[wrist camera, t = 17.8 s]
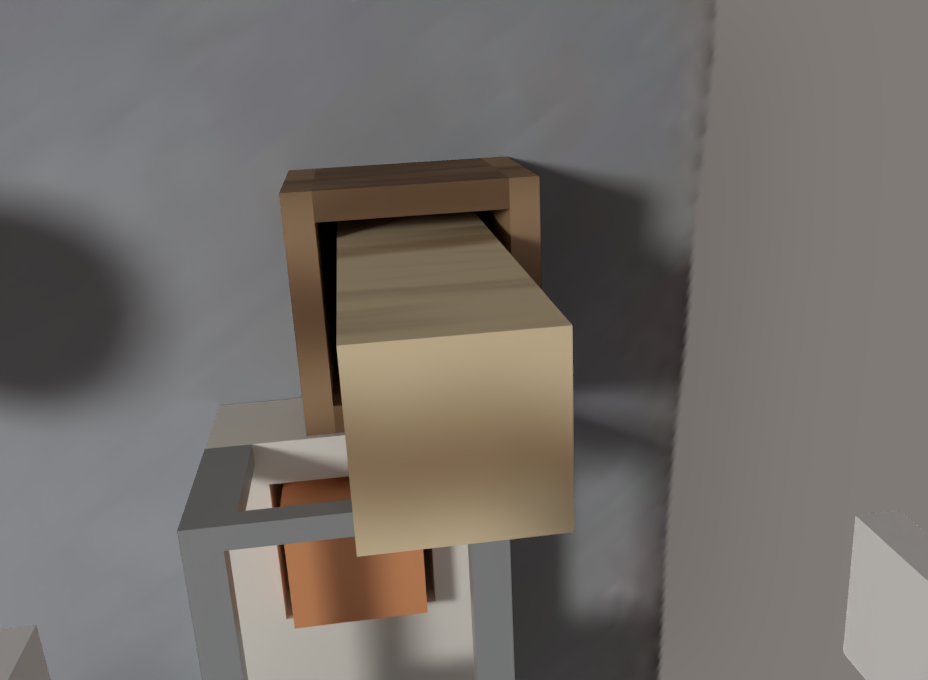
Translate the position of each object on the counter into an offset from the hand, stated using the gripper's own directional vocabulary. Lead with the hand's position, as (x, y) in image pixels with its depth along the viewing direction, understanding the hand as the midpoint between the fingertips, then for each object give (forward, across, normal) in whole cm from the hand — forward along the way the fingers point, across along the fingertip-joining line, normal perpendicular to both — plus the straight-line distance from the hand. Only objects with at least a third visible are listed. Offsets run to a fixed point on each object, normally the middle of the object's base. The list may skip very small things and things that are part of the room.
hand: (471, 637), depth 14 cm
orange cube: (+29, -3, -13) cm, 31 cm away
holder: (+29, +1, -1) cm, 29 cm away
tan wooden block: (+29, +1, -1) cm, 29 cm away
